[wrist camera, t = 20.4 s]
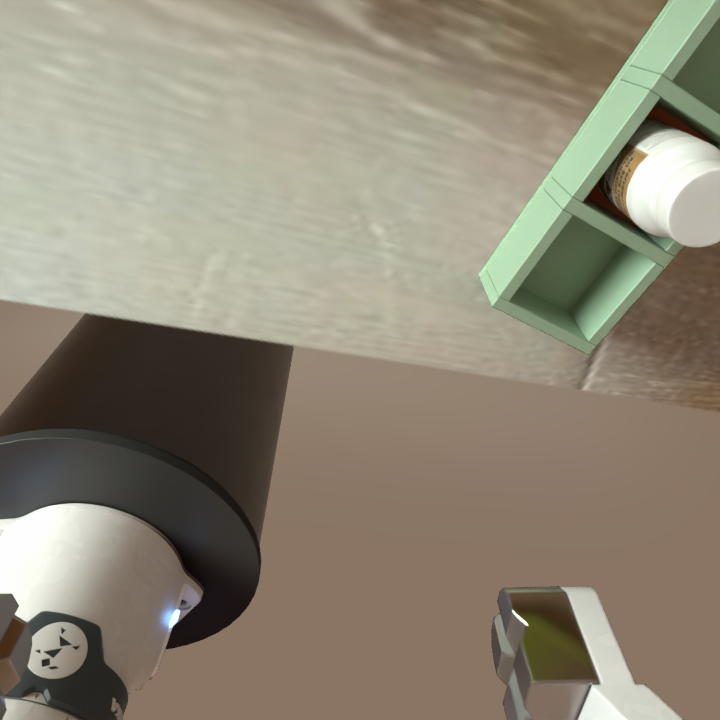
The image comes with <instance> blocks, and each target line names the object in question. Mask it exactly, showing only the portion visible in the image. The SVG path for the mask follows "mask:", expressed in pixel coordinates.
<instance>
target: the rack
mask: <svg viewBox="0 0 720 720" xmlns="http://www.w3.org/2000/svg"><path fill="white" fill-rule="evenodd" d="M644 120H657V121H660V122H663V123H665V124H667V125H670V126H672V127H674V128H676V129H679V130H681V131H683V132H685V133H688V134H690V135H692V136H694V137H697V138H699V139H701V140H703V141H705V142H708V143H709V144H711V145H713V146H715V147H717V148H718V149H719V150H720V0H669V1H668V2H667V4H666V5H665V7H664V8H663V10H662V11H661V13H660V14H659V15H658V17H657V18H656V20H655V21H654V23H653V24H652V26H651V27H650V28H649V30H648V31H647V33H646V34H645V36H644V37H643V38H642V40H641V41H640V43H639V44H638V46H637V47H636V49H635V50H634V51H633V53H632V54H631V56H630V57H629V59H628V60H627V62H626V63H625V64H624V66H623V67H622V69H621V70H620V72H619V73H618V75H617V76H616V77H615V79H614V80H613V82H612V83H611V85H610V86H609V87H608V89H607V90H606V92H605V93H604V95H603V96H602V98H601V99H600V100H599V102H598V103H597V105H596V106H595V108H594V109H593V111H592V112H591V113H590V115H589V116H588V118H587V119H586V121H585V122H584V124H583V125H582V126H581V128H580V129H579V131H578V132H577V134H576V135H575V137H574V138H573V139H572V141H571V142H570V144H569V145H568V147H567V148H566V149H565V151H564V152H563V154H562V155H561V157H560V158H559V160H558V161H557V162H556V164H555V165H554V167H553V168H552V170H551V171H550V173H549V174H548V175H547V177H546V178H545V180H544V181H543V183H542V184H541V186H540V187H539V188H538V190H537V191H536V193H535V194H534V196H533V197H532V198H531V200H530V201H529V203H528V204H527V206H526V207H525V209H524V210H523V211H522V213H521V214H520V216H519V217H518V219H517V220H516V222H515V223H514V224H513V226H512V227H511V229H510V230H509V232H508V233H507V235H506V236H505V237H504V239H503V240H502V242H501V243H500V245H499V246H498V248H497V249H496V250H495V252H494V253H493V255H492V256H491V258H490V259H489V260H488V262H487V263H486V265H485V266H484V268H483V269H482V271H481V272H480V273H479V278H480V279H481V282H482V284H483V287H484V289H485V291H486V294H487V296H488V298H489V301H490V303H491V305H492V307H494V308H496V309H498V310H500V311H502V312H504V313H506V314H508V315H510V316H512V317H514V318H516V319H518V320H520V321H522V322H524V323H526V324H528V325H530V326H532V327H534V328H536V329H538V330H540V331H542V332H544V333H546V334H548V335H550V336H552V337H554V338H556V339H558V340H560V341H562V342H564V343H566V344H568V345H570V346H572V347H574V348H576V349H578V350H580V351H582V352H584V353H586V354H590V353H591V352H592V351H593V350H594V348H595V347H596V345H598V344H599V343H600V342H601V341H602V339H603V338H604V337H605V336H606V335H607V334H608V333H609V331H610V330H611V329H612V328H613V327H614V326H615V325H616V323H617V322H618V321H619V320H620V319H621V318H622V317H623V315H624V314H625V313H626V312H627V311H628V310H629V309H630V307H631V306H632V305H633V304H634V303H635V302H636V301H637V299H638V298H639V297H640V296H641V295H642V294H643V293H644V291H645V290H646V289H647V288H648V287H649V286H650V285H651V284H652V282H653V281H654V280H655V279H656V278H657V277H658V276H659V274H660V273H661V272H662V271H663V270H664V267H666V266H667V265H668V264H669V263H670V262H671V261H672V260H673V258H674V256H676V255H677V254H678V253H679V251H680V250H681V249H682V248H683V247H684V245H682V244H680V243H678V242H676V241H675V240H674V239H672V238H671V237H659V236H655V235H652V234H649V233H647V232H645V231H644V230H642V229H641V228H640V227H639V226H637V225H636V224H635V223H634V222H633V221H631V220H630V219H629V218H628V217H627V216H626V215H625V214H624V213H622V212H621V211H620V210H619V209H618V208H617V207H615V206H614V205H613V204H612V203H611V202H610V201H609V200H608V199H606V198H605V197H604V196H603V195H602V193H601V192H600V191H599V189H598V186H597V182H598V181H599V180H600V178H601V177H602V176H603V174H604V173H605V172H606V170H607V169H608V168H609V166H610V165H611V164H612V162H613V161H614V160H615V158H616V157H617V155H618V154H619V153H620V151H621V150H622V149H623V147H624V146H625V145H626V143H627V142H628V141H629V139H630V138H631V137H632V135H633V134H634V133H635V131H636V130H637V129H638V127H639V126H640V125H641V123H642V122H643V121H644Z"/></svg>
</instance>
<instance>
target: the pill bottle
mask: <svg viewBox="0 0 720 720" xmlns="http://www.w3.org/2000/svg"><path fill="white" fill-rule="evenodd" d="M597 186H598V189H599V191H600V192H601V193H602V195H603V196H604V197H605V198H606V199H608V200H609V201H610V202H611V203H612V204H613V205H614V206H615V207H617V208H618V209H619V210H620V211H621V212H622V213H624V214H625V215H626V216H627V217H628V218H629V219H630V220H631V221H633V222H634V223H635V224H636V225H637V226H639V227H640V228H641V229H642V230H644V231H645V232H647V233H649V234H652V235H655V236H659V237H671V238H672V239H674V240H675V241H676V242H678V243H680V244H682V245H684V246H687V247H693V248H698V247H706V246H710V245H713V244H716V243H718V242H720V150H719V149H718V148H717V147H715V146H713V145H711V144H709V143H708V142H705V141H703V140H701V139H699V138H697V137H694V136H692V135H690V134H688V133H685V132H683V131H681V130H679V129H676V128H674V127H672V126H670V125H667V124H665V123H663V122H660V121H657V120H644V121H643V122H642V123H641V125H640V126H639V127H638V129H637V130H636V131H635V133H634V134H633V135H632V137H631V138H630V139H629V141H628V142H627V143H626V145H625V146H624V147H623V149H622V150H621V151H620V153H619V154H618V155H617V157H616V158H615V160H614V161H613V162H612V164H611V165H610V166H609V168H608V169H607V170H606V172H605V173H604V174H603V176H602V177H601V178H600V180H599V181H598V182H597Z"/></svg>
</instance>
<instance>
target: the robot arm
mask: <svg viewBox="0 0 720 720" xmlns="http://www.w3.org/2000/svg"><path fill="white" fill-rule="evenodd" d="M203 593H204V587H203V586H202V584H201V583H200V582H199V581H198V580H197V579H196V578H195V577H194V576H192V575H191V574H190V573H189V572H188V571H187V570H186V568H185V567H184V565H183V562H182V560H181V557H180V555H179V553H178V551H177V550H176V548H175V547H174V545H173V544H172V543H171V542H170V541H169V539H168V538H167V537H166V536H165V535H163V534H162V533H161V532H160V531H159V530H157V529H156V528H155V527H153V526H152V525H150V524H148V523H147V522H145V521H143V520H141V519H139V518H137V517H135V516H133V515H130V514H128V513H125V512H123V511H120V510H116V509H113V508H109V507H104V506H99V505H93V504H81V503H69V504H58V505H52V506H48V507H44V508H41V509H38V510H36V511H33V512H31V513H29V514H27V515H25V516H22V517H19V518H12V519H0V720H123V715H124V712H125V709H126V706H127V703H128V695H129V694H130V693H131V692H132V691H134V690H136V691H137V690H141V689H142V687H143V686H144V684H145V683H146V682H147V681H148V680H150V679H152V678H153V676H155V675H156V673H157V671H158V669H159V667H160V663H161V661H162V658H163V655H164V652H165V649H166V646H167V643H168V640H169V637H170V634H171V631H172V628H173V626H174V625H176V624H177V623H178V622H179V621H180V620H181V619H182V618H183V617H184V616H185V615H186V614H187V613H188V612H190V611H191V610H192V609H193V608H194V607H195V606H196V605H197V604H198V603H199V602H200V601H201V598H202V595H203ZM498 606H499V610H500V613H499V614H497V615H496V616H495V617H494V618H493V625H492V630H491V631H492V632H491V634H492V653H493V659H494V665H495V669H496V674H497V676H498V677H499V678H500V679H501V680H502V681H503V682H504V683H505V685H506V686H507V689H506V693H505V697H504V700H503V705H504V710H505V714H506V718H507V720H684V719H683V718H682V717H680V716H679V715H678V714H677V713H676V712H675V711H674V710H673V709H672V708H671V707H670V706H669V705H667V704H666V703H665V702H664V701H663V700H662V699H661V698H660V697H659V696H658V695H657V694H656V693H654V692H653V691H652V690H651V689H650V688H649V687H648V686H647V685H646V684H636V682H635V680H634V678H633V675H632V673H631V671H630V668H629V666H628V664H627V661H626V659H625V657H624V655H623V652H622V650H621V648H620V645H619V643H618V641H617V638H616V636H615V634H614V632H613V629H612V627H611V625H610V622H609V620H608V618H607V615H606V613H605V610H604V608H603V606H602V603H601V601H600V599H599V597H598V594H597V593H596V592H595V591H594V589H593V588H591V587H564V588H563V587H561V588H560V587H559V586H556V587H519V588H502V590H501V591H500V592H499V596H498Z"/></svg>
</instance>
